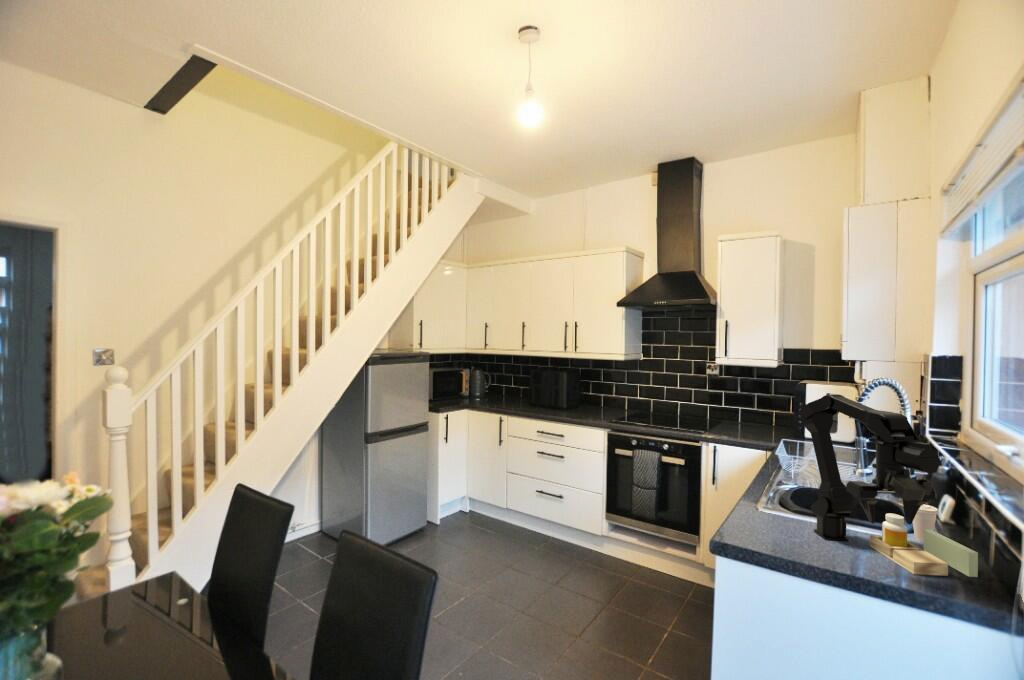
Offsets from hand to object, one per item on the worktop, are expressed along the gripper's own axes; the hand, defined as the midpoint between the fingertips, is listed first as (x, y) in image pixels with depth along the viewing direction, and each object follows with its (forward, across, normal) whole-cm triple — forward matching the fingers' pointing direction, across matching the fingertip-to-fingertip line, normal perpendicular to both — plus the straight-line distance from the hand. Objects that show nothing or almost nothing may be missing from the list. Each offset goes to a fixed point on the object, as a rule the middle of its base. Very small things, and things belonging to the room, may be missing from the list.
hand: (890, 523), depth 120 cm
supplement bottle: (+11, +8, +9) cm, 16 cm away
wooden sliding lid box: (+11, +8, +5) cm, 14 cm away
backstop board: (+11, +18, +3) cm, 21 cm away
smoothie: (+11, +23, +18) cm, 32 cm away
